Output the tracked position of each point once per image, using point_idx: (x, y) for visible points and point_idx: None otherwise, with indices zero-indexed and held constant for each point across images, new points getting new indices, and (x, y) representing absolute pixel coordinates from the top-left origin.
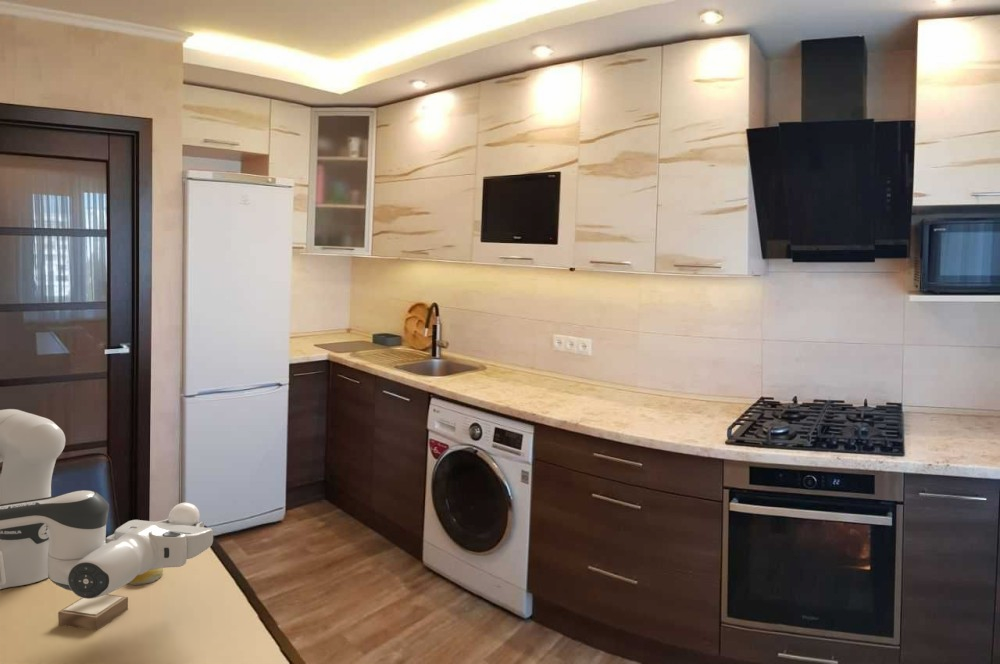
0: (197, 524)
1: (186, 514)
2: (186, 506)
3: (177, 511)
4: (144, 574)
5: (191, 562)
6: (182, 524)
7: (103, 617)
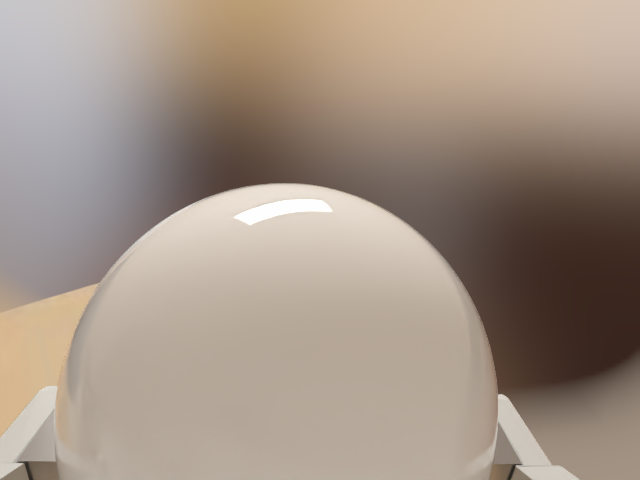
0: (539, 475)
1: (473, 401)
2: (390, 240)
3: (295, 378)
4: None
5: None
6: None
7: None
